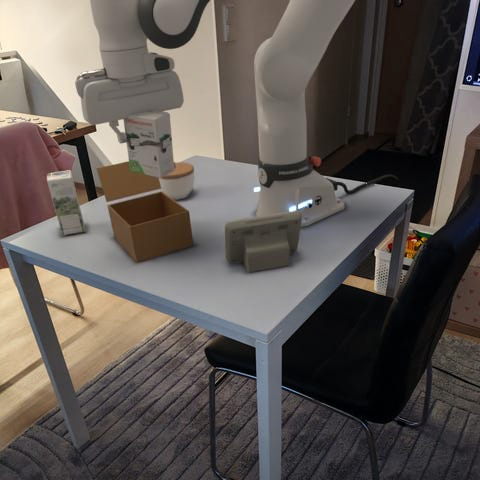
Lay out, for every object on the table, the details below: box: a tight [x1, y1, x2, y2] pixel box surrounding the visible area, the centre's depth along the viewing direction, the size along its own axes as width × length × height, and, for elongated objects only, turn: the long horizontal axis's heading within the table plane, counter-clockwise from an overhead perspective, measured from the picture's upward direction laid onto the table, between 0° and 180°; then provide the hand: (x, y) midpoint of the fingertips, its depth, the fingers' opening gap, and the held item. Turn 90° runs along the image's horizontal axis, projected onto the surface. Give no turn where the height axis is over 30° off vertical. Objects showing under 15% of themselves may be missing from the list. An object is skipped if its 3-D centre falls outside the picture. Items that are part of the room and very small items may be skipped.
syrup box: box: [46, 169, 86, 237], centre depth 129 cm, size 6×6×14 cm
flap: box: [96, 160, 161, 203], centre depth 124 cm, size 8×14×1 cm
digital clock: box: [224, 211, 302, 273], centre depth 109 cm, size 16×9×11 cm, turn 91°
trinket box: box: [158, 161, 195, 201], centre depth 146 cm, size 11×11×9 cm
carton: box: [107, 190, 194, 263], centre depth 122 cm, size 16×14×8 cm
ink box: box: [122, 110, 175, 178], centre depth 107 cm, size 9×5×12 cm, turn 59°
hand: (140, 138), depth 108 cm, fingers closed on ink box, 6 cm apart
